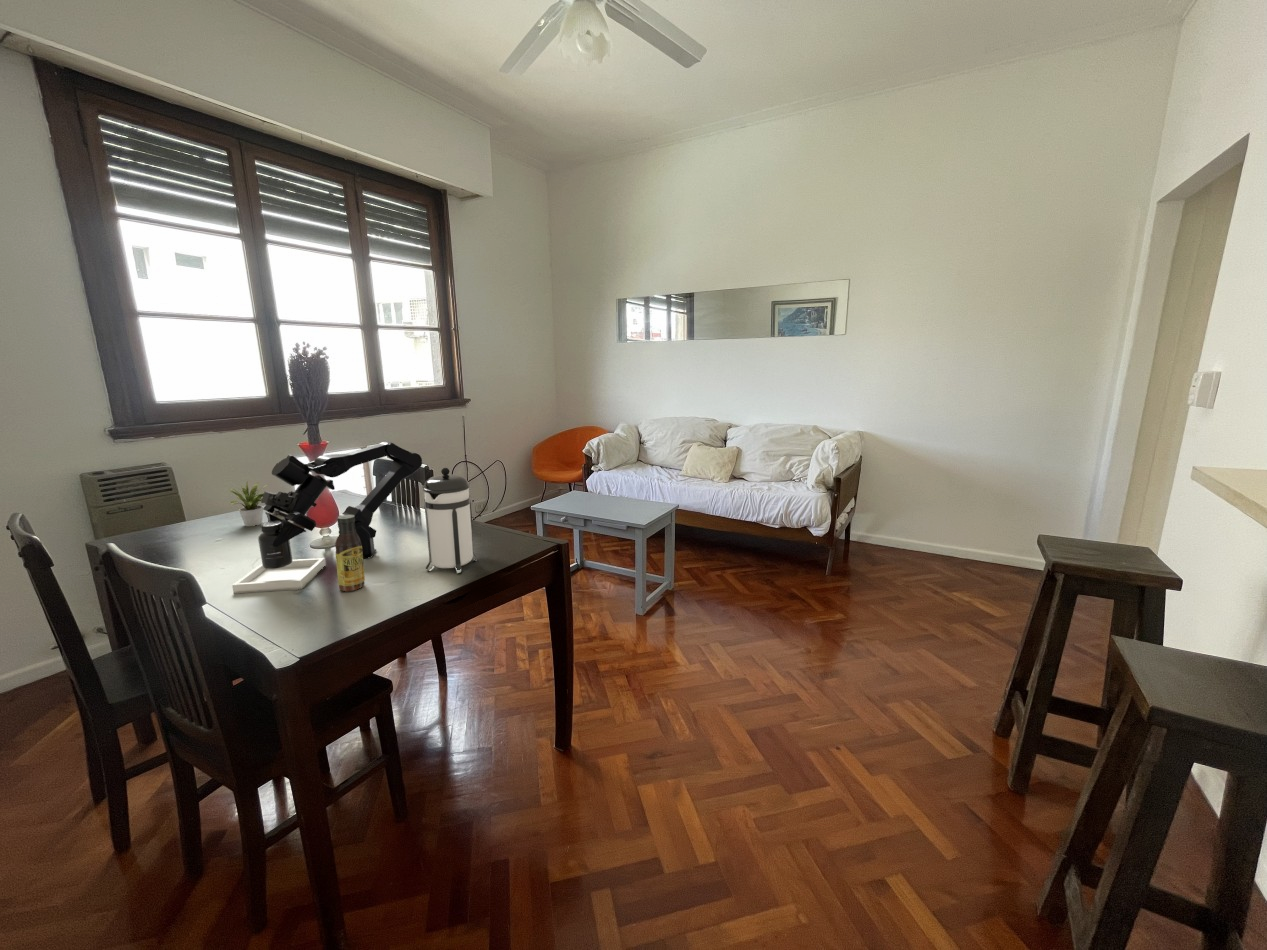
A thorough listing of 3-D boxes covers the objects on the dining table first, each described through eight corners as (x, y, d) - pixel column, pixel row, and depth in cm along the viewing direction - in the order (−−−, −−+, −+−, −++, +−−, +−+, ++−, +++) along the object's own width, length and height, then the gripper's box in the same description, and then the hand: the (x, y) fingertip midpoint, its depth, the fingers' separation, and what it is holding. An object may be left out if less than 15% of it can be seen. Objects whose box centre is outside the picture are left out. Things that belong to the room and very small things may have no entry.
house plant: (236, 534, 175) (228, 488, 171) (218, 527, 182) (210, 483, 178) (281, 523, 187) (275, 480, 183) (263, 517, 194) (256, 476, 190)
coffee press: (488, 569, 147) (482, 469, 141) (430, 580, 139) (421, 475, 133) (473, 550, 162) (467, 459, 155) (420, 559, 154) (411, 464, 147)
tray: (325, 565, 149) (324, 557, 148) (301, 589, 133) (300, 580, 133) (265, 569, 146) (264, 561, 145) (233, 593, 130) (232, 584, 130)
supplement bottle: (272, 571, 133) (263, 529, 130) (257, 566, 136) (249, 525, 133) (298, 562, 139) (291, 521, 136) (284, 557, 142) (277, 517, 139)
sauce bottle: (347, 594, 130) (337, 522, 126) (334, 589, 134) (324, 518, 129) (371, 585, 136) (363, 515, 131) (358, 580, 139) (350, 511, 135)
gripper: (265, 474, 140) (225, 523, 134) (295, 484, 130) (253, 537, 124) (300, 495, 148) (264, 541, 142) (332, 505, 138) (294, 556, 132)
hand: (268, 543), depth 135 cm, fingers closed on supplement bottle, 7 cm apart
